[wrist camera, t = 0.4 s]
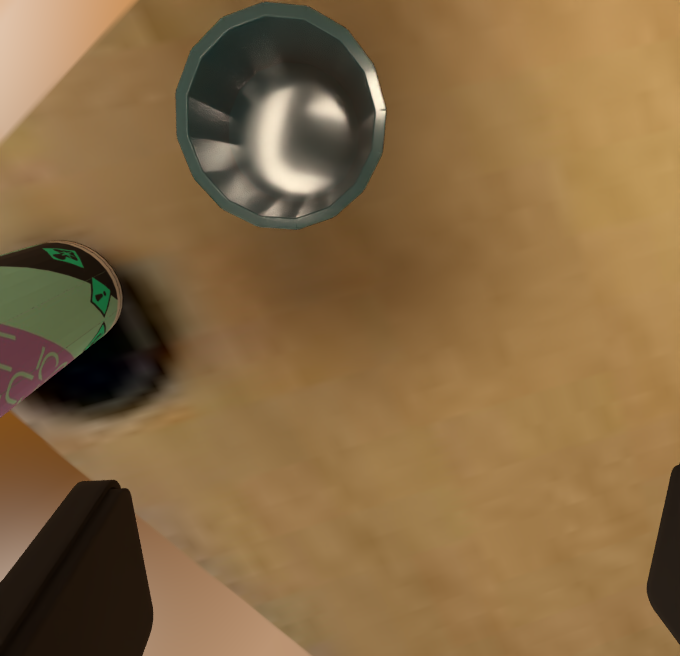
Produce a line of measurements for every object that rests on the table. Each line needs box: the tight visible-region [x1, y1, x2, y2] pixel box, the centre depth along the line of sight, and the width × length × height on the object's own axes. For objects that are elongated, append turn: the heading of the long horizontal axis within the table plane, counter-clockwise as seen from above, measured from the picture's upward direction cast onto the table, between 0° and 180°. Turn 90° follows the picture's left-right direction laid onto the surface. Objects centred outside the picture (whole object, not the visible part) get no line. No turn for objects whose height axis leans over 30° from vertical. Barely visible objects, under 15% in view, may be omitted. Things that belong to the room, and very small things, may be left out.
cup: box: [175, 2, 387, 230], centre depth 20 cm, size 7×7×8 cm
